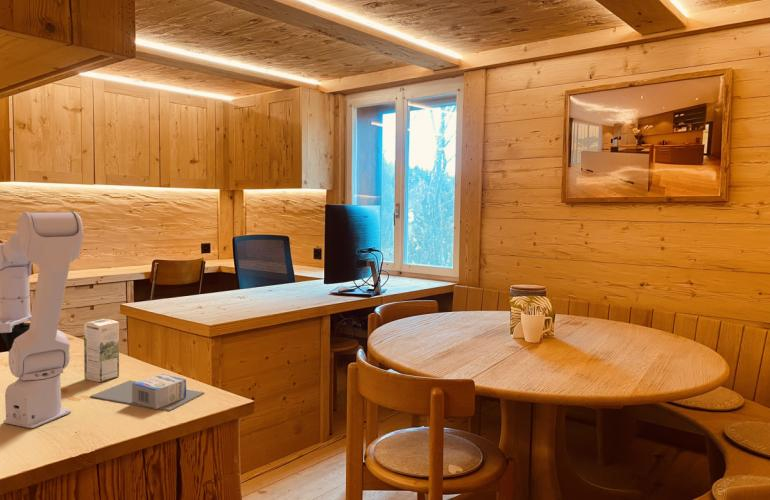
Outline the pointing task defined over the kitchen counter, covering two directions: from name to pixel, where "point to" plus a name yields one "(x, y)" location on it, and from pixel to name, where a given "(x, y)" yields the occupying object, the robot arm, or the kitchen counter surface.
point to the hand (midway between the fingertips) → (16, 357)
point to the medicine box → (158, 391)
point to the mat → (124, 395)
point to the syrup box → (101, 350)
